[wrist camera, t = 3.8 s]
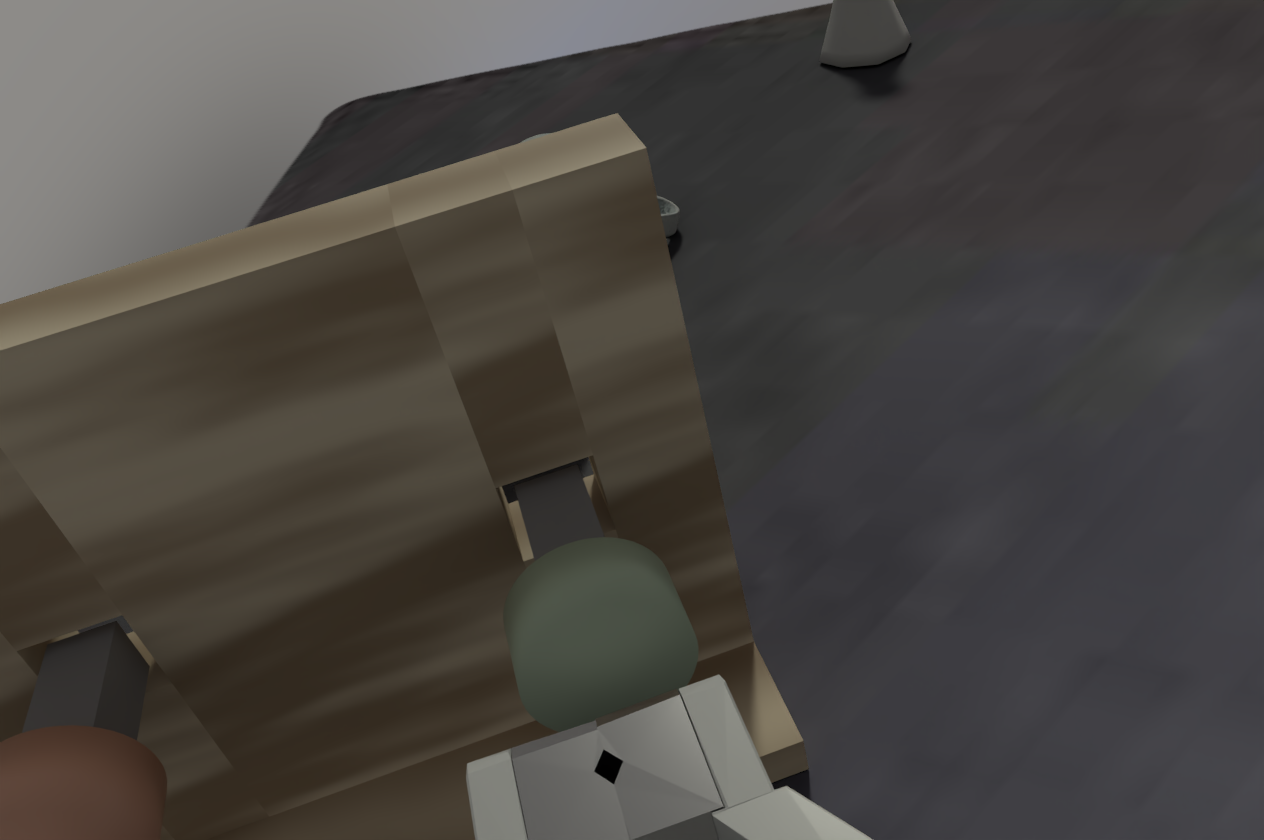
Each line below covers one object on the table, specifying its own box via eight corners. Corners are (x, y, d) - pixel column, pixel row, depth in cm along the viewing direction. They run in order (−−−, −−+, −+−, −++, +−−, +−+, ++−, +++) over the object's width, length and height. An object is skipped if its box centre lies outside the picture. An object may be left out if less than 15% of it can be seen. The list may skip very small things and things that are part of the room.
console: (808, 769, 34) (702, 213, 22) (77, 1043, 32) (-460, 586, 20) (711, 570, 42) (596, 88, 30) (124, 778, 40) (-240, 345, 28)
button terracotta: (190, 888, 26) (97, 780, 23) (7, 955, 26) (-109, 853, 23) (211, 679, 32) (138, 574, 29) (63, 731, 32) (-25, 629, 29)
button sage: (712, 697, 27) (680, 574, 25) (546, 758, 27) (495, 639, 24) (641, 529, 33) (608, 415, 31) (503, 577, 33) (458, 466, 30)
